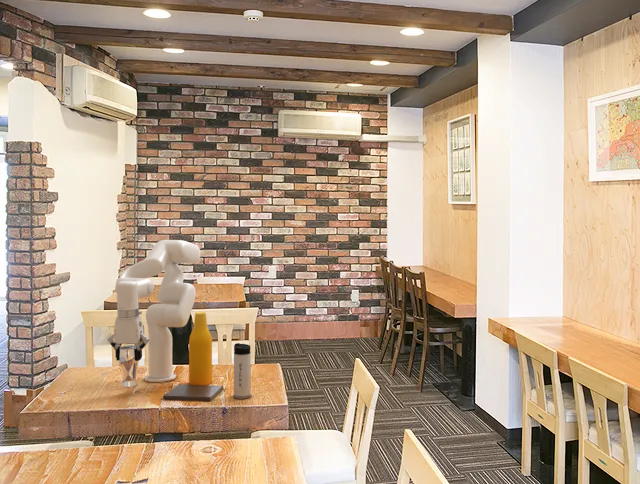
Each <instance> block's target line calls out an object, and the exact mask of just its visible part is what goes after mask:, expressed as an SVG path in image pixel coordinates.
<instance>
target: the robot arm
mask: <svg viewBox="0 0 640 484" xmlns="http://www.w3.org/2000/svg"><path fill="white" fill-rule="evenodd" d="M201 254H202V253H201V249H200V247H199V246H198V245H197V244H195V243H193V242H190V241H186V240H183V239H162V240H159V241H157V242H156V243H155V245H153V247H152V248H151V250H150V251H149V253H148V254H147V256H146V257H145V258H144V259H142V260H140V261H138V262H137V263H134V264H133V265H131V266H129V267H127V268H126V269H124V271H123V272H122V273H121V274H120V276H119V277H118V278H117V280H116V283H115V287H114V289H115V293H116V307H117V309H116V310H117V312H116V313H117V315H116V317H115V319H114V320H115V321H114V325H113V327H114V328H113V334H112V335H111V336H109V337H108V338H107V342H108V343H109V344H110V346H111V347H112V348H113V350H114V351H115V352H114V353H115V359H116V361H118V362H119V351H120V347H122V345H135V346H136V348H137V351H136V361H138V362H140V361H141V360H142V358H143V349H144V348H145V347H146V346H147V345H148V374H146V375H145V376H144V380H145V382H149V383H164V382H170V381H173V380H175V379H177V374H176V373H174V372H173V369H174V368H175V365H174V364H173V335H172V332H171V330H170V329H169V328H183V327H185V326H187V324H188V322H189V319H190V316H191V313H192V311H193V308H194V304H195V301H196V297H197V296H196V295H197V292H196V288H195V286H194V285H193V284H192V283H189V282H184V280H185V274H184V272H183V270H182V268H181V267H180V266H179V264H186V265H187V264H190V265H191V264H196V263H198V262H199V261H200V259H201ZM163 271H164V274H163V276H162V280H161V283H160V286H159V288H158V291H157V296H156V299H157V301H158V303H153V304H151V305H149V306H148V307H147V309H146V310H145V319H146V325H147V333H148V334H147V335H148V336H146V335H145V334H144V324H143V319H142V316H140V315H142V314H143V311H142V310H140V308H139V299H145V298H148V297H150V296H152V294H153V293H154V290H155V284H154V282H153V281H152V280H151V279H149V278H151V277H155V276H158V275H160V274H161V273H162V272H163Z"/></svg>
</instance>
